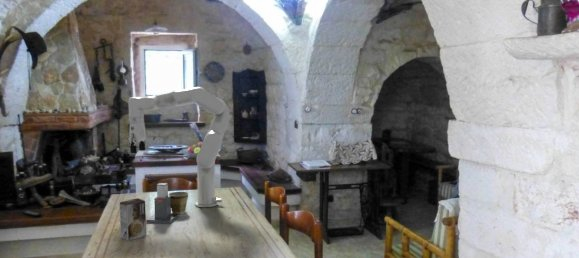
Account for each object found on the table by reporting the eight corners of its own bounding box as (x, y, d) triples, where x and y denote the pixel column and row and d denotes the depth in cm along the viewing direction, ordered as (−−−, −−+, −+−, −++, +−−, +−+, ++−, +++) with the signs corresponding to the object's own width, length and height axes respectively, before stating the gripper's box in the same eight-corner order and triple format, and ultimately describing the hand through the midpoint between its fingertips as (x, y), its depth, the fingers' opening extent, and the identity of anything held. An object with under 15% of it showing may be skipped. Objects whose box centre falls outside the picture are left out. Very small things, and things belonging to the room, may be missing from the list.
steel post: (168, 214, 228) (167, 183, 227) (165, 217, 224) (164, 185, 223) (160, 214, 229) (160, 183, 227) (157, 216, 225) (156, 184, 223)
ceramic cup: (192, 212, 240) (192, 193, 239) (175, 216, 232) (175, 197, 231) (178, 207, 248) (178, 189, 247) (162, 211, 241) (161, 192, 240)
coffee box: (138, 232, 207) (137, 197, 205) (146, 235, 203) (145, 200, 201) (120, 237, 200) (119, 201, 198) (128, 241, 196) (127, 204, 194)
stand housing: (179, 216, 232) (178, 194, 231) (170, 223, 220) (169, 200, 219) (156, 215, 233) (155, 193, 232) (146, 222, 222) (145, 199, 220)
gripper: (135, 121, 236) (136, 154, 238) (150, 118, 253) (151, 149, 255) (121, 121, 237) (123, 154, 239) (137, 118, 254) (139, 149, 256)
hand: (138, 151), depth 247 cm, fingers open, 9 cm apart
